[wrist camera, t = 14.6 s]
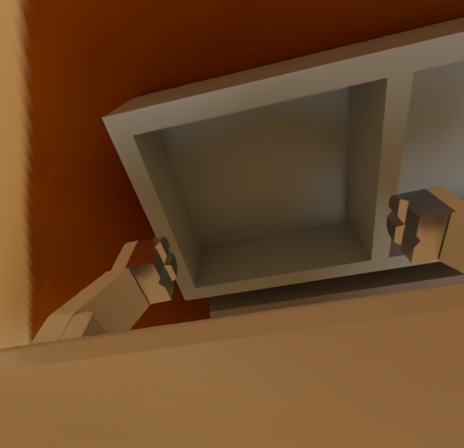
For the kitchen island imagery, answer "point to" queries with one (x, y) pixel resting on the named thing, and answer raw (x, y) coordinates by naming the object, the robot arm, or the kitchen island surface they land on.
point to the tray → (297, 159)
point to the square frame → (335, 289)
